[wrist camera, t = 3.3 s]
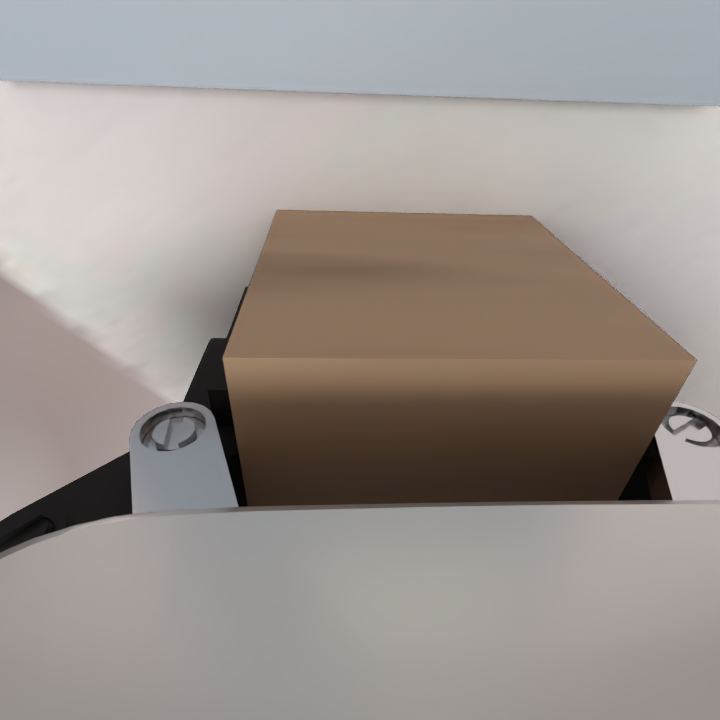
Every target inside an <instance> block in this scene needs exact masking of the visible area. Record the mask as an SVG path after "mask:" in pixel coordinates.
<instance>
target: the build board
mask: <svg viewBox="0 0 720 720" xmlns="http://www.w3.org/2000/svg"><path fill="white" fill-rule="evenodd" d="M0 80H1V81H28V82H56V83H84V84H111V85H139V86H167V87H195V88H222V89H250V90H278V91H305V92H333V93H361V94H388V95H416V96H444V97H471V98H499V99H527V100H555V101H582V102H610V103H638V104H665V105H693V106H720V0H0Z"/></svg>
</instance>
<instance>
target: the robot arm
mask: <svg viewBox="0 0 720 720" xmlns="http://www.w3.org/2000/svg"><path fill="white" fill-rule="evenodd" d="M247 290H248V287H246V288H245V290H244V293H243V296H242V298H241V301H240V304H239V306H238V309H237V312H236V314H235V317H234V320H233V322H232V325H231V328H230V330H229V333H228V336H227V338H212V339H211V340H210V341H209V343H208V345H207V348H206V350H205V352H204V355H203V357H202V359H201V361H200V364H199V366H198V368H197V371H196V373H195V375H194V378H193V380H192V382H191V385H190V387H189V389H188V392H187V394H186V396H185V399H184V401H183V402H177V403H170V404H167V405H163V406H160V407H157V408H155V409H154V410H152V411H150V412H148V413H146V414H145V415H144V416H143V417H142V418H140V419H139V420H138V421H137V422H136V423H135V425H134V426H133V428H132V429H131V433H130V438H129V443H130V451H129V452H128V453H126V454H124V455H122V456H120V457H118V458H116V459H115V460H113V461H111V462H109V463H107V464H105V465H103V466H101V467H99V468H98V469H96V470H94V471H92V472H90V473H88V474H86V475H85V476H83V477H81V478H79V479H77V480H75V481H73V482H71V483H69V484H68V485H66V486H64V487H62V488H60V489H58V490H56V491H54V492H53V493H51V494H49V495H47V496H45V497H43V498H41V499H39V500H38V501H36V502H34V503H32V504H30V505H28V506H26V507H25V508H23V509H21V510H19V511H17V512H15V513H13V514H11V515H10V516H9V517H7V518H5V519H4V520H2V521H0V720H720V419H718V418H717V417H715V416H713V415H712V414H710V413H708V412H706V411H704V410H702V409H699V408H697V407H695V406H691V405H688V404H684V403H679V402H673V403H672V405H671V407H670V409H669V410H668V412H667V414H666V416H665V418H664V419H663V421H662V423H661V425H660V426H659V428H658V430H657V432H656V433H655V435H654V437H653V439H652V440H651V442H650V444H649V446H648V447H647V449H646V451H645V453H644V454H643V456H642V458H641V460H640V461H639V463H638V465H637V467H636V468H635V470H634V472H633V474H632V475H631V477H630V479H629V481H628V483H627V484H626V486H625V488H624V490H623V491H622V493H621V495H620V497H619V498H618V500H617V501H530V502H456V503H395V504H342V505H290V506H254V507H248V504H247V498H246V493H245V487H244V481H243V475H242V469H241V463H240V457H239V452H238V446H237V440H236V434H235V428H234V422H233V417H232V411H231V405H230V399H229V393H228V387H227V381H226V376H225V370H224V364H223V355H224V352H225V350H226V347H227V344H228V341H229V339H230V336H231V333H232V331H233V328H234V325H235V322H236V320H237V317H238V314H239V312H240V309H241V306H242V303H243V301H244V298H245V295H246V292H247Z"/></svg>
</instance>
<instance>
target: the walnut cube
mask: <svg viewBox="0 0 720 720" xmlns="http://www.w3.org/2000/svg"><path fill="white" fill-rule="evenodd" d="M696 361H697V360H696V359H695V358H694V357H693V356H692V355H691V354H689V353H688V352H687V351H686V350H685V349H684V348H683V347H681V346H680V345H679V344H678V343H677V342H676V341H675V340H673V339H672V338H671V337H670V336H669V335H668V334H666V333H665V332H664V331H663V330H662V329H661V328H660V327H658V326H657V325H656V324H655V323H654V322H653V321H652V320H650V319H649V318H648V317H647V316H646V315H645V314H644V313H642V312H641V311H640V310H639V309H638V308H637V307H635V306H634V305H633V304H632V303H631V302H630V301H629V300H627V299H626V298H625V297H624V296H623V295H622V294H621V293H619V292H618V291H617V290H616V289H615V288H614V287H612V286H611V285H610V284H609V283H608V282H607V281H606V280H604V279H603V278H602V277H601V276H600V275H599V274H598V273H596V272H595V271H594V270H593V269H592V268H591V267H589V266H588V265H587V264H586V263H585V262H584V261H583V260H581V259H580V258H579V257H578V256H577V255H576V254H575V253H573V252H572V251H571V250H570V249H569V248H568V247H566V246H565V245H564V244H563V243H562V242H561V241H560V240H558V239H557V238H556V237H555V236H554V235H553V234H552V233H550V232H549V231H548V230H547V229H546V228H545V227H543V226H542V225H541V224H540V223H539V222H538V221H537V220H535V219H534V218H533V217H532V216H522V215H478V214H435V213H391V212H348V211H305V210H277V211H276V214H275V216H274V219H273V222H272V224H271V227H270V230H269V233H268V235H267V238H266V241H265V244H264V246H263V249H262V252H261V254H260V257H259V260H258V263H257V265H256V268H255V271H254V273H253V276H252V279H251V282H250V284H249V287H248V290H247V292H246V295H245V298H244V301H243V303H242V306H241V309H240V312H239V314H238V317H237V320H236V322H235V325H234V328H233V331H232V333H231V336H230V339H229V341H228V344H227V347H226V350H225V352H224V355H223V364H224V370H225V376H226V381H227V387H228V393H229V399H230V405H231V411H232V417H233V422H234V428H235V434H236V440H237V446H238V452H239V457H240V463H241V469H242V475H243V481H244V487H245V493H246V498H247V504H248V507H254V506H290V505H342V504H395V503H456V502H530V501H617V500H618V498H619V497H620V495H621V493H622V491H623V490H624V488H625V486H626V484H627V483H628V481H629V479H630V477H631V475H632V474H633V472H634V470H635V468H636V467H637V465H638V463H639V461H640V460H641V458H642V456H643V454H644V453H645V451H646V449H647V447H648V446H649V444H650V442H651V440H652V439H653V437H654V435H655V433H656V432H657V430H658V428H659V426H660V425H661V423H662V421H663V419H664V418H665V416H666V414H667V412H668V410H669V409H670V407H671V405H672V403H673V402H674V400H675V398H676V396H677V395H678V393H679V391H680V389H681V388H682V386H683V384H684V382H685V381H686V379H687V377H688V375H689V374H690V372H691V370H692V368H693V367H694V365H695V363H696Z"/></svg>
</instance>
